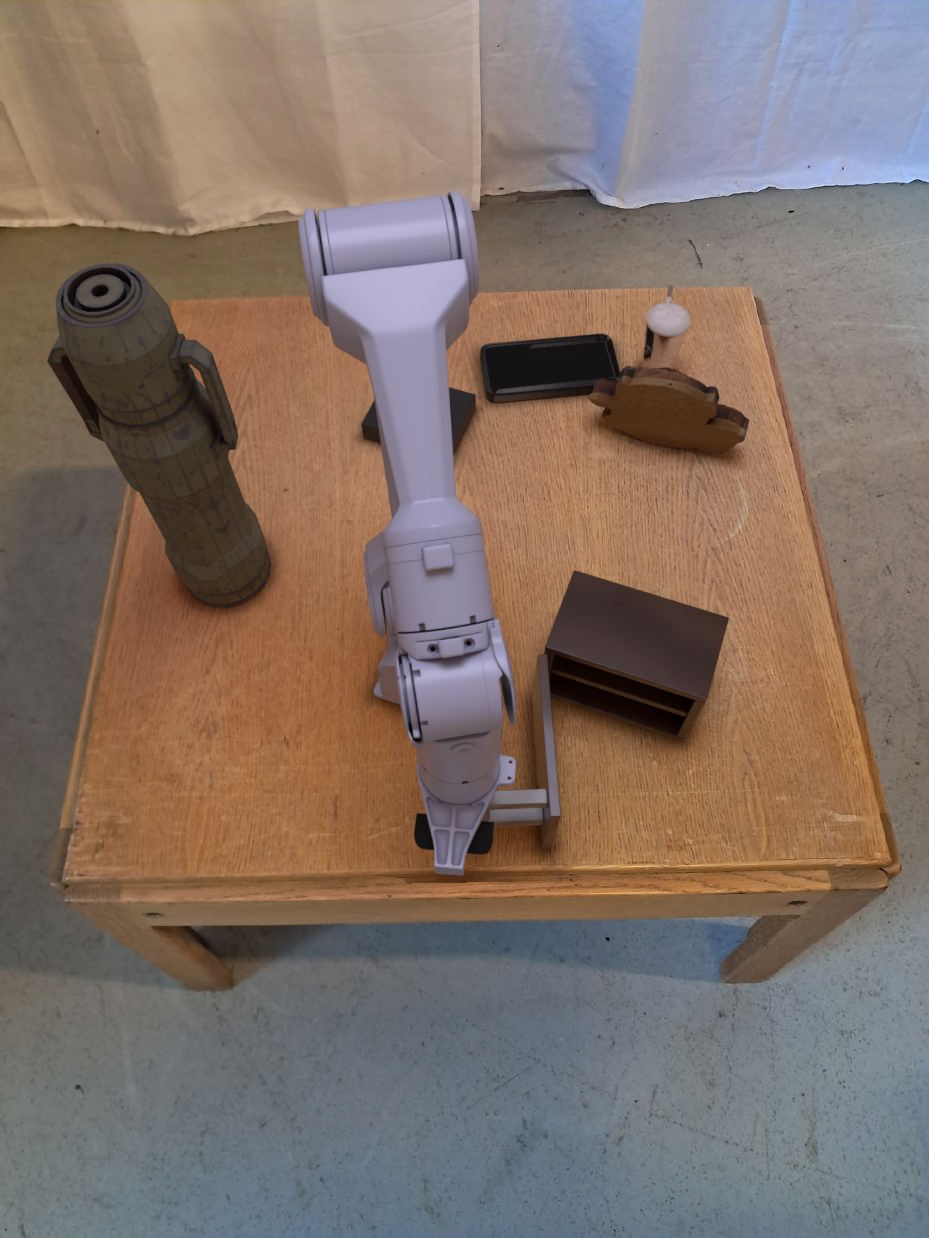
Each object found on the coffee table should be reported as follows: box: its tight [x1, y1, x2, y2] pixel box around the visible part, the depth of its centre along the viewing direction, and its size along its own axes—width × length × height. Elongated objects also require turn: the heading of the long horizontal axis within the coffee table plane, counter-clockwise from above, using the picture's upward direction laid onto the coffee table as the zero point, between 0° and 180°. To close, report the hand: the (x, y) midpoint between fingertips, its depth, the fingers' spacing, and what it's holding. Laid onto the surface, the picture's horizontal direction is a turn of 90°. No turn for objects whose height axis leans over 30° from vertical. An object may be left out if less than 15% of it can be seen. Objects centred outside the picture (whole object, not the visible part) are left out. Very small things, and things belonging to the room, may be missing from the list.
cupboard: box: [543, 569, 730, 743], centre depth 80 cm, size 8×14×10 cm, turn 69°
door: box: [482, 654, 562, 849], centre depth 76 cm, size 6×14×9 cm, turn 2°
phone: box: [479, 333, 621, 403], centre depth 102 cm, size 8×1×15 cm
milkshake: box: [641, 283, 691, 369], centre depth 98 cm, size 5×5×10 cm
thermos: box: [46, 262, 272, 609], centre depth 75 cm, size 9×12×35 cm
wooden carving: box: [588, 365, 750, 456], centre depth 93 cm, size 16×5×10 cm, turn 76°
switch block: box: [360, 386, 477, 457], centre depth 97 cm, size 10×8×4 cm
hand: (461, 804), depth 73 cm, fingers open, 6 cm apart
